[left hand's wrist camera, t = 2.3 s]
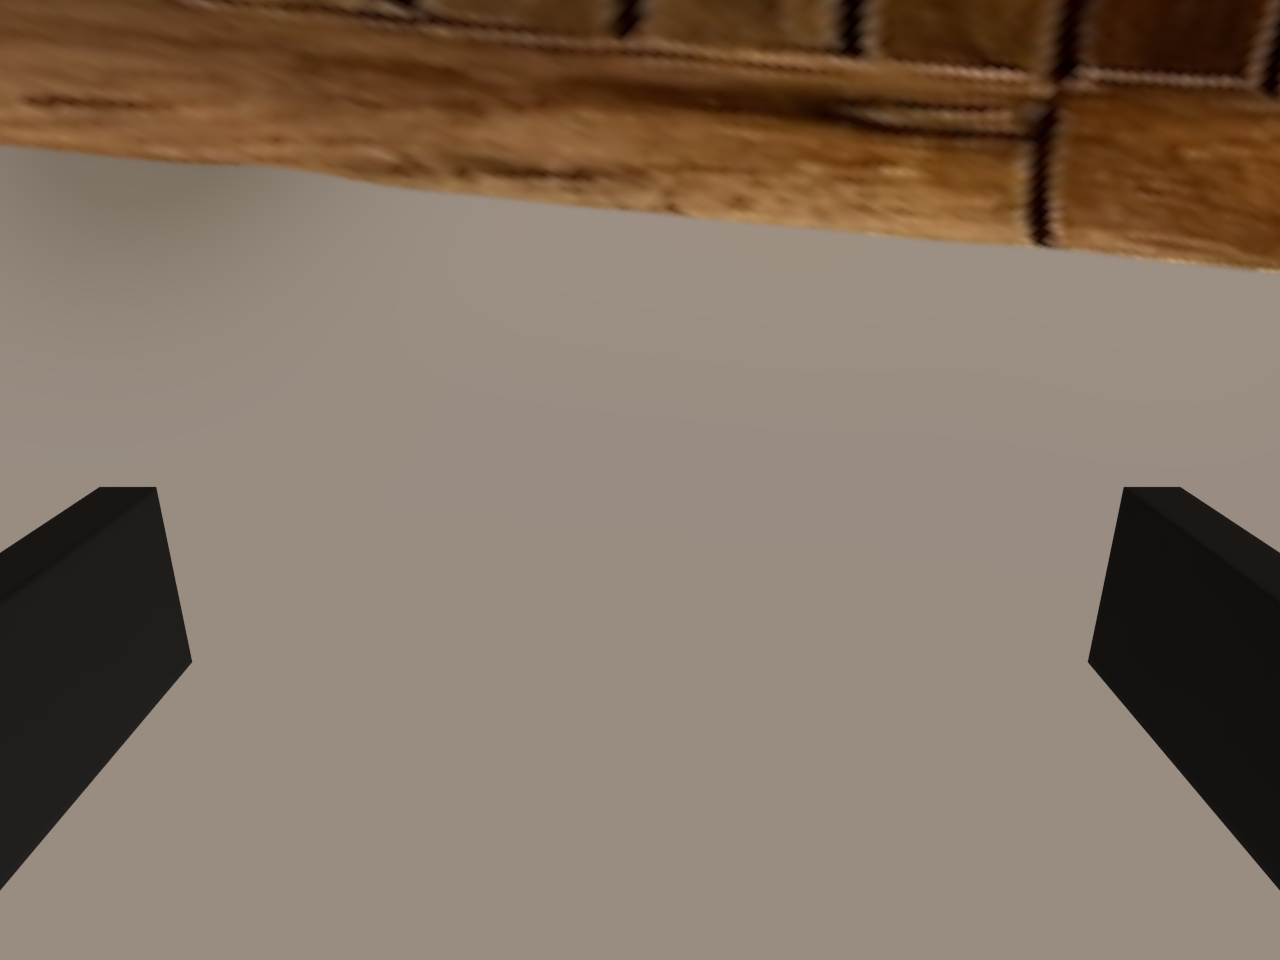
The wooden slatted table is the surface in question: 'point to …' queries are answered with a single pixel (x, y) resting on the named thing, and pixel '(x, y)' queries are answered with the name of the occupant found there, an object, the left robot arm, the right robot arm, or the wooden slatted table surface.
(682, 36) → the wooden slatted table surface
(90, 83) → the wooden slatted table surface
